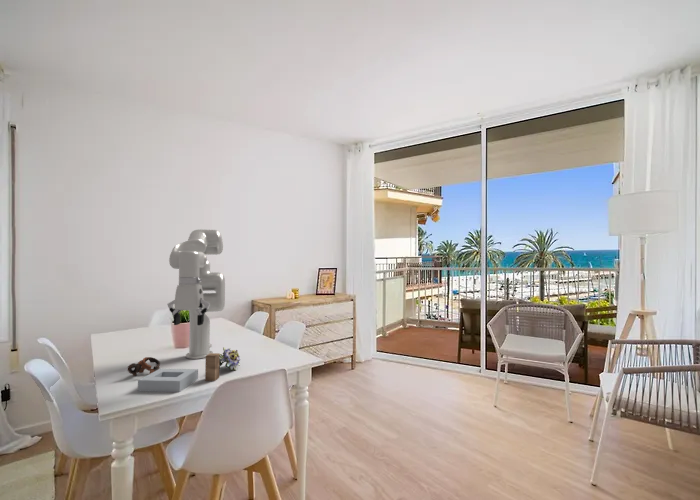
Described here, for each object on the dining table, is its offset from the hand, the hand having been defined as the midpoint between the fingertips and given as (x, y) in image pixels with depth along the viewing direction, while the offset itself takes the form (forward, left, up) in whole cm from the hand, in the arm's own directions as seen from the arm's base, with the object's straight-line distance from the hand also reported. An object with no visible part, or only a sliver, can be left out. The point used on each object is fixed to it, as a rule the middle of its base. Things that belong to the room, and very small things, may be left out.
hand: (188, 324), depth 139 cm
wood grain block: (-4, +8, -23) cm, 25 cm away
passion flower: (-17, +9, -23) cm, 30 cm away
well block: (+3, -6, -23) cm, 24 cm away
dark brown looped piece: (-8, -23, -23) cm, 34 cm away
